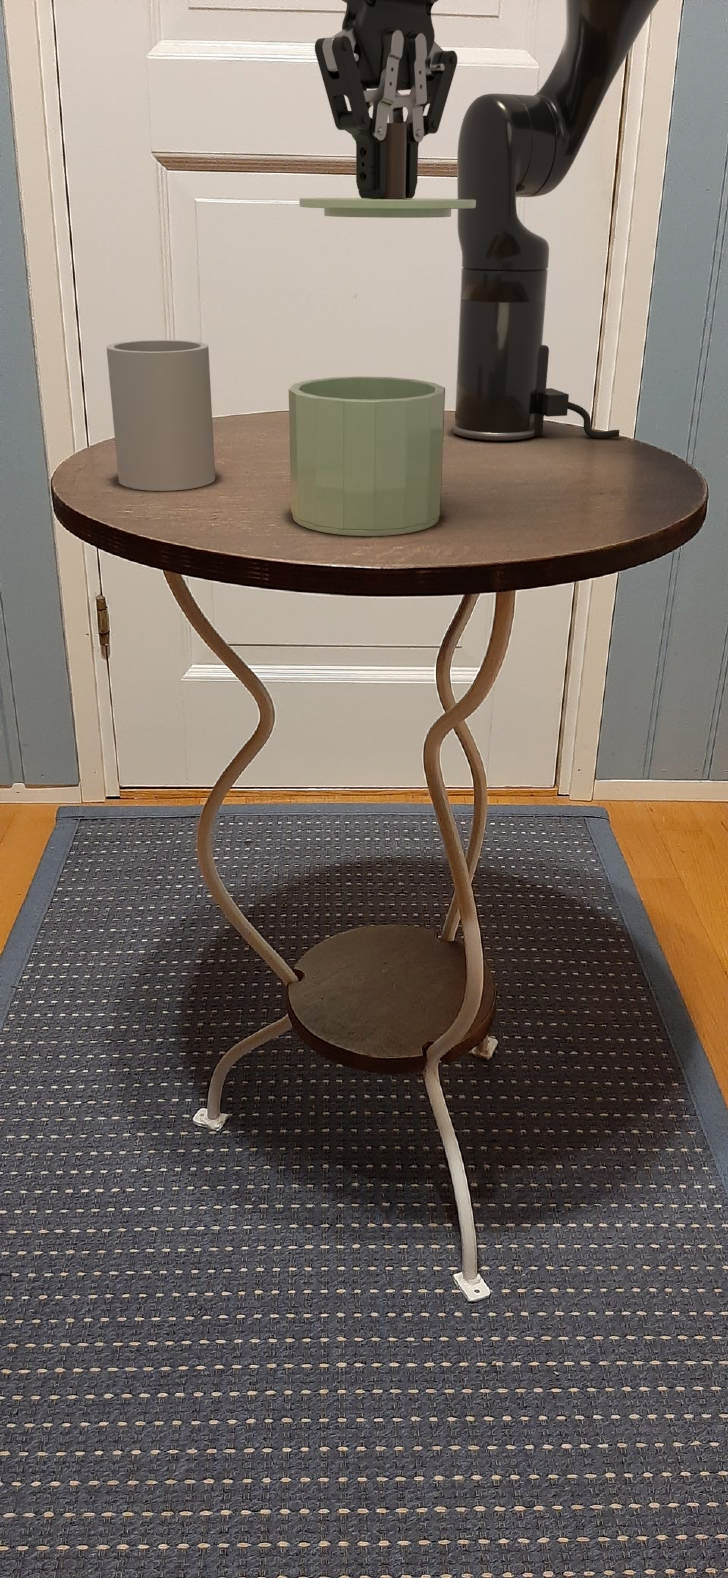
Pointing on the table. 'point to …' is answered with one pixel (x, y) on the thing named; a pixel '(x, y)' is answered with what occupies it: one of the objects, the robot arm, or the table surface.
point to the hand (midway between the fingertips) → (387, 196)
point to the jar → (366, 454)
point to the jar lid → (390, 190)
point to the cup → (162, 414)
